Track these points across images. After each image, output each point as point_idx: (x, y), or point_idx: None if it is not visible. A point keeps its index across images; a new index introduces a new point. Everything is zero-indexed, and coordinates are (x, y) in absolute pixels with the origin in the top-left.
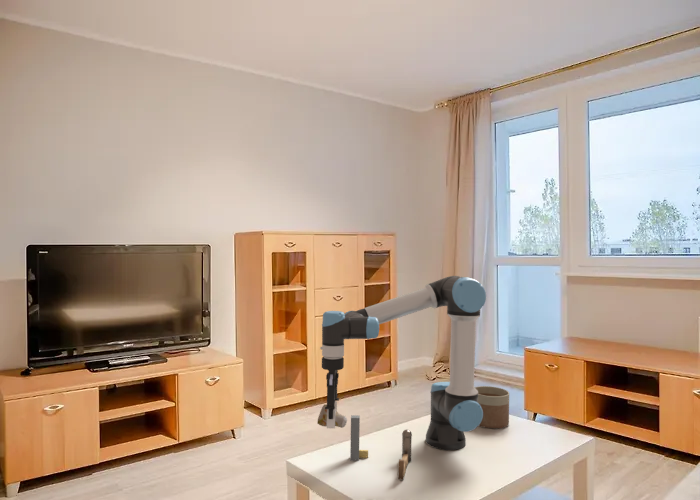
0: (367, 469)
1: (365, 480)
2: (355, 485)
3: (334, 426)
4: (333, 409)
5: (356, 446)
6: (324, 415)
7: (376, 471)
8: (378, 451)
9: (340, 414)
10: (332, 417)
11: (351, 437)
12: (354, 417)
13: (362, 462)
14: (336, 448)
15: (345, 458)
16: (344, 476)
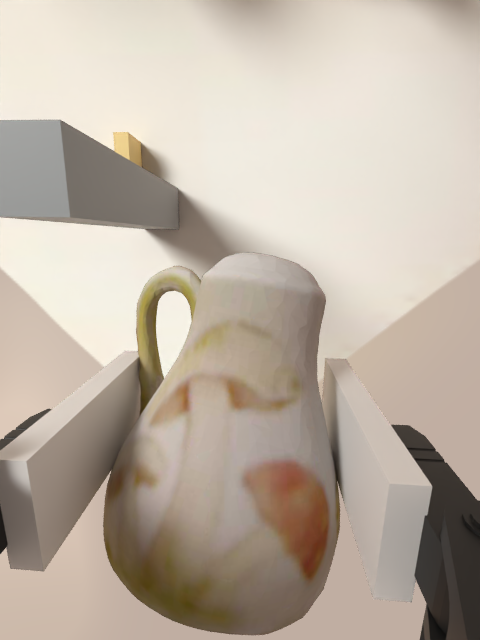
0: (268, 142)
1: (383, 149)
2: (430, 196)
3: (348, 368)
4: (424, 503)
5: (158, 192)
6: (339, 527)
7: (288, 94)
8: (56, 86)
9: (241, 342)
10: (427, 443)
11: (141, 219)
12: (49, 178)
13: (194, 169)
14: (61, 297)
15: (160, 252)
16: (341, 248)
